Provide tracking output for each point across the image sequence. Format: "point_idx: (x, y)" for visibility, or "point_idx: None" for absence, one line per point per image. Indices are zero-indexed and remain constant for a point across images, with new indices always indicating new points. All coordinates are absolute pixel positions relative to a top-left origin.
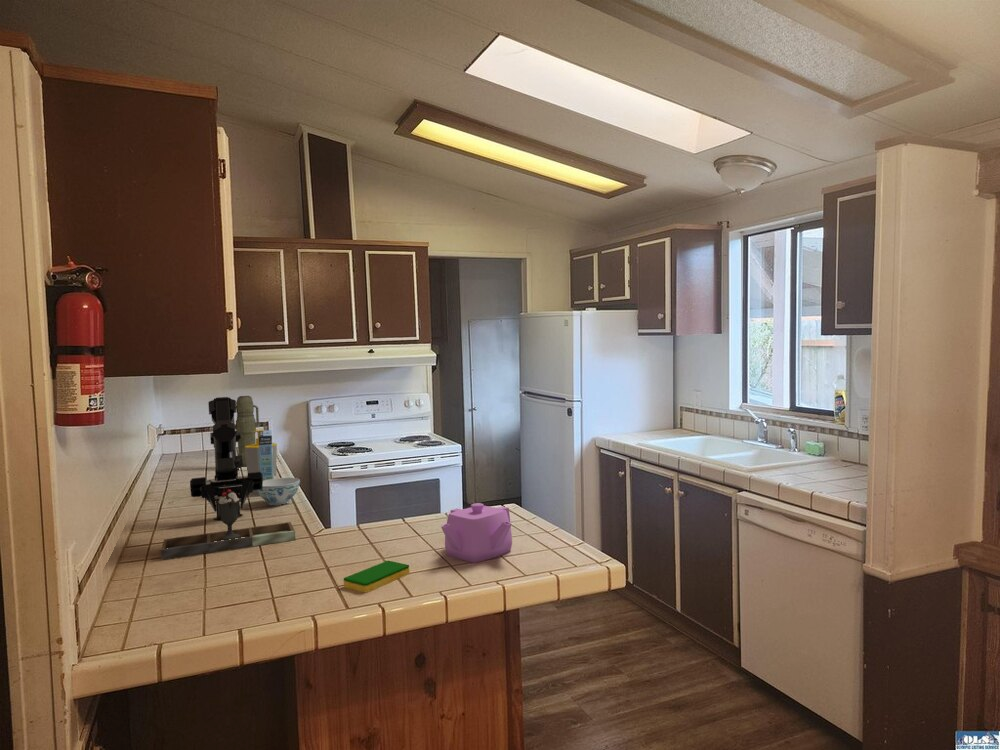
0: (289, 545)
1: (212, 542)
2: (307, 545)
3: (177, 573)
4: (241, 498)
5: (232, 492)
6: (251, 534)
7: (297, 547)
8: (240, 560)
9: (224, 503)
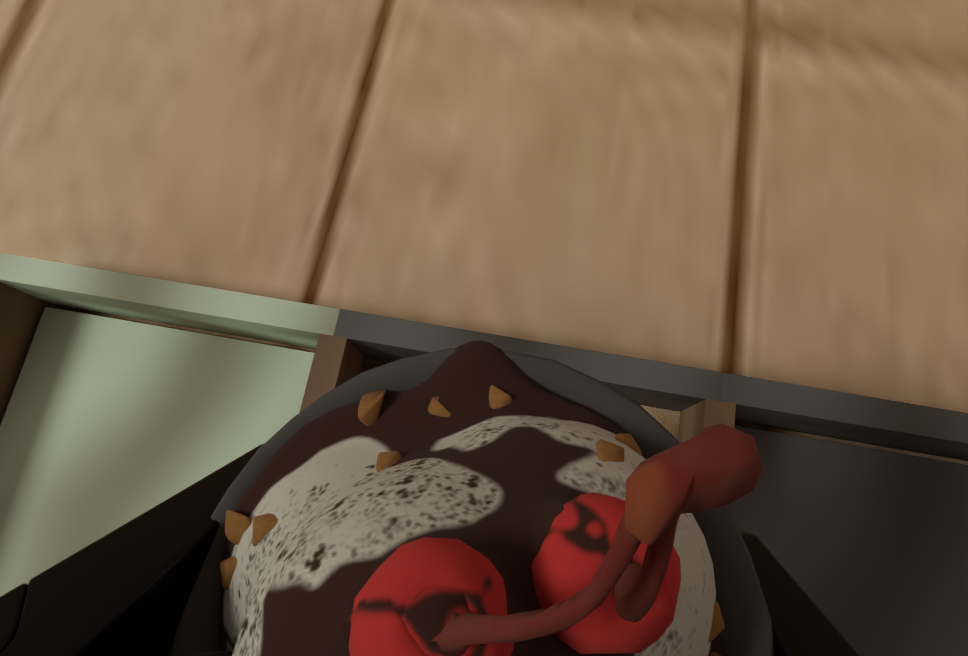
0: (137, 167)
1: (686, 385)
2: (48, 85)
3: (922, 33)
4: (177, 548)
5: (333, 572)
6: None
7: (120, 84)
8: (523, 45)
9: (597, 424)
